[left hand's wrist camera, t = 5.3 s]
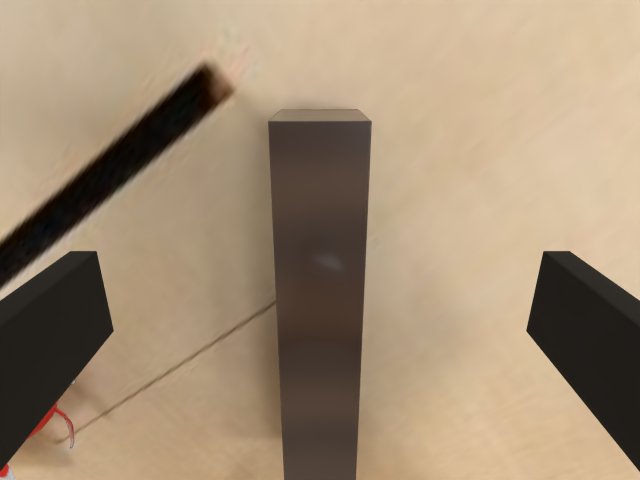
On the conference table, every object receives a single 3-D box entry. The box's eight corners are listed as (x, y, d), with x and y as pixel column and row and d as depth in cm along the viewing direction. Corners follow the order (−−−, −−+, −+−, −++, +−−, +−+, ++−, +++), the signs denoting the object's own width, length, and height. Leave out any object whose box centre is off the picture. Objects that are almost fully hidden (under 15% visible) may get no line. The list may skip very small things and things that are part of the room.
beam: (280, 109, 27) (268, 120, 20) (359, 109, 27) (371, 120, 20) (291, 439, 37) (285, 517, 30) (348, 439, 37) (354, 517, 30)
